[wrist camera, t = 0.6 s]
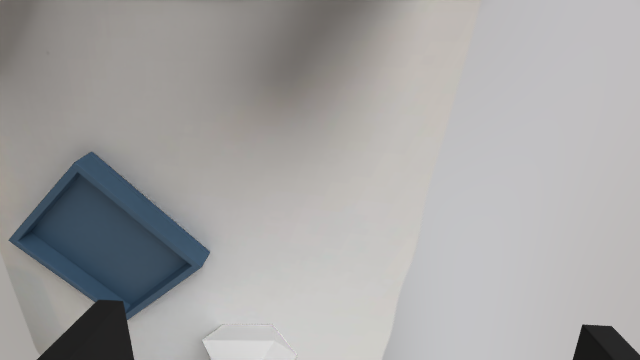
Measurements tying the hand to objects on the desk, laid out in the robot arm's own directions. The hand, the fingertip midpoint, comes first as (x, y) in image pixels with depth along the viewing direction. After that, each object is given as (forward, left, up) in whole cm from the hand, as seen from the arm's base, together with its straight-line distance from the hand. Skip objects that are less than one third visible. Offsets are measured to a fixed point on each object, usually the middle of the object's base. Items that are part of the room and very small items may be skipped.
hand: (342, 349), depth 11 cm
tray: (+34, -5, -25) cm, 42 cm away
